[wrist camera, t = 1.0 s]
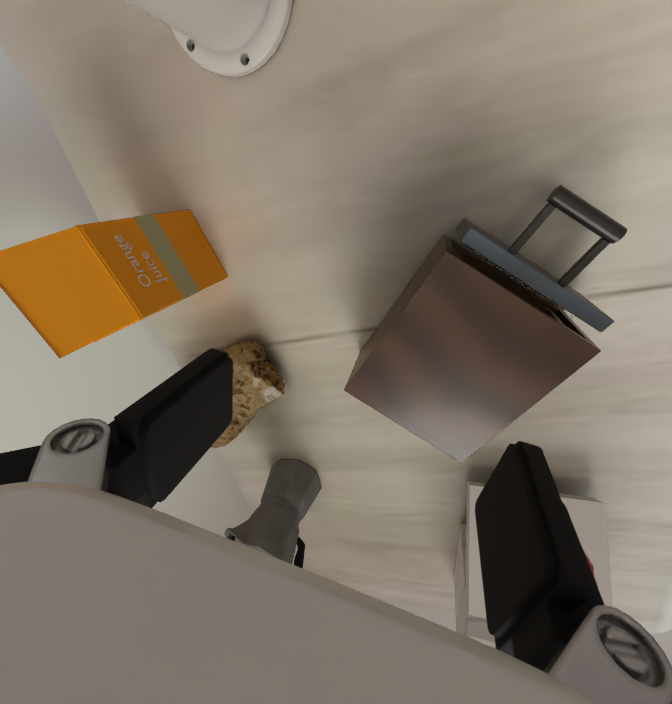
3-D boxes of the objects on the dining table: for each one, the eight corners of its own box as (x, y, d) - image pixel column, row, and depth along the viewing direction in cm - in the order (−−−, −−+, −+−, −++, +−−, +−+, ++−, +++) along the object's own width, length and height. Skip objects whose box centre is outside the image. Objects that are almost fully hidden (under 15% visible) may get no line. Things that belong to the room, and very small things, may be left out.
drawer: (506, 159, 28) (525, 155, 22) (634, 244, 29) (686, 262, 23) (376, 338, 39) (366, 366, 33) (471, 397, 40) (477, 436, 34)
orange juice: (190, 208, 39) (-1, 234, 22) (229, 277, 42) (87, 346, 25) (148, 235, 42) (-47, 276, 25) (187, 297, 45) (36, 371, 28)
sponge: (252, 320, 45) (154, 386, 51) (239, 349, 39) (127, 421, 44) (308, 384, 51) (214, 436, 56) (304, 418, 44) (199, 474, 50)
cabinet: (443, 233, 33) (446, 250, 26) (564, 311, 34) (601, 351, 26) (360, 351, 42) (343, 390, 34) (456, 412, 42) (461, 463, 35)
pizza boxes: (609, 479, 41) (713, 660, 26) (558, 607, 55) (607, 775, 39) (449, 460, 46) (456, 601, 31) (439, 581, 60) (440, 721, 44)
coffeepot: (254, 457, 57) (188, 560, 42) (294, 442, 53) (237, 552, 37) (304, 515, 61) (261, 629, 46) (345, 506, 57) (312, 628, 42)
